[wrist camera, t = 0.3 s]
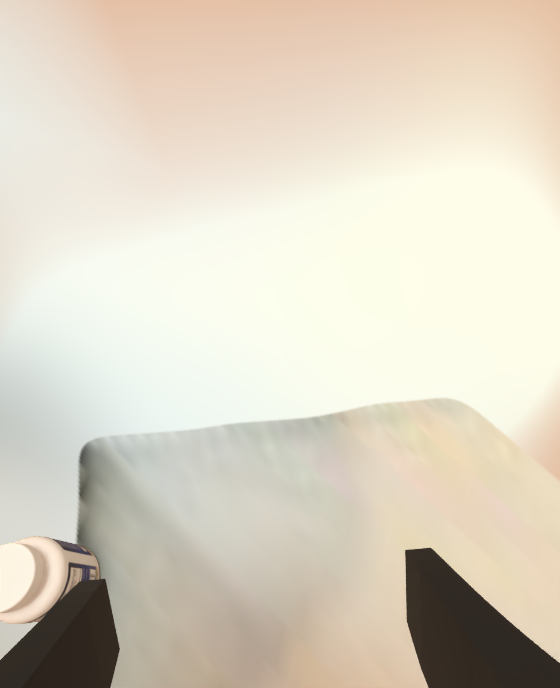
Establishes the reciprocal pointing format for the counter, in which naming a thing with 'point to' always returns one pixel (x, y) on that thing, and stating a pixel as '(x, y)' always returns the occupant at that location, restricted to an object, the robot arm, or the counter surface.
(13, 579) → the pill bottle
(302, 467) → the counter surface
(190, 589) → the counter surface
